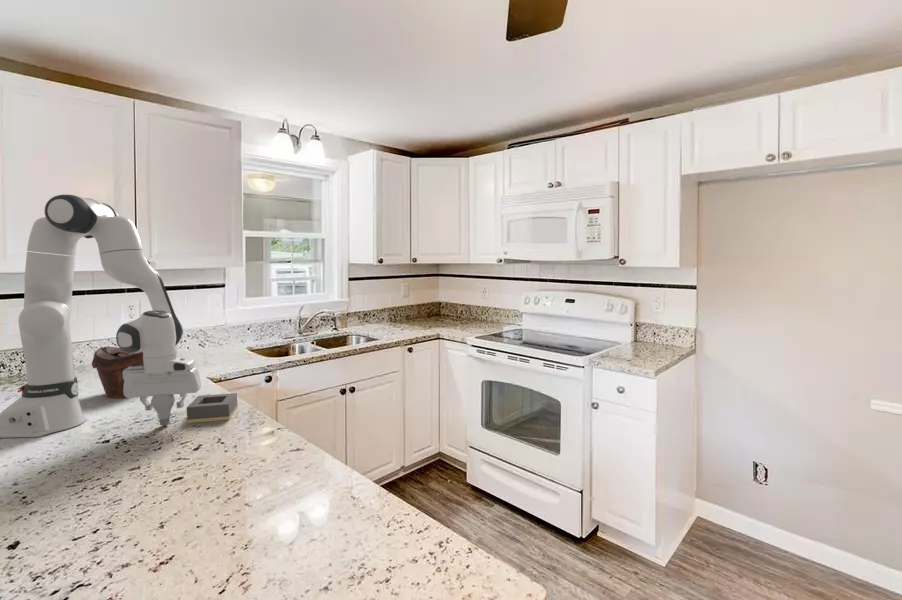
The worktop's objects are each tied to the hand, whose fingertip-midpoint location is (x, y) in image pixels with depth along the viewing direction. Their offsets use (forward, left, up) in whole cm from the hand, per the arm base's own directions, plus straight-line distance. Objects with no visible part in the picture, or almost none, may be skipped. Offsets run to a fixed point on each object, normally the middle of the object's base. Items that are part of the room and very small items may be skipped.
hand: (164, 408), depth 140 cm
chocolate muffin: (-27, +42, -6) cm, 50 cm away
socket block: (+12, +7, -5) cm, 15 cm away
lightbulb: (0, 0, -6) cm, 6 cm away
